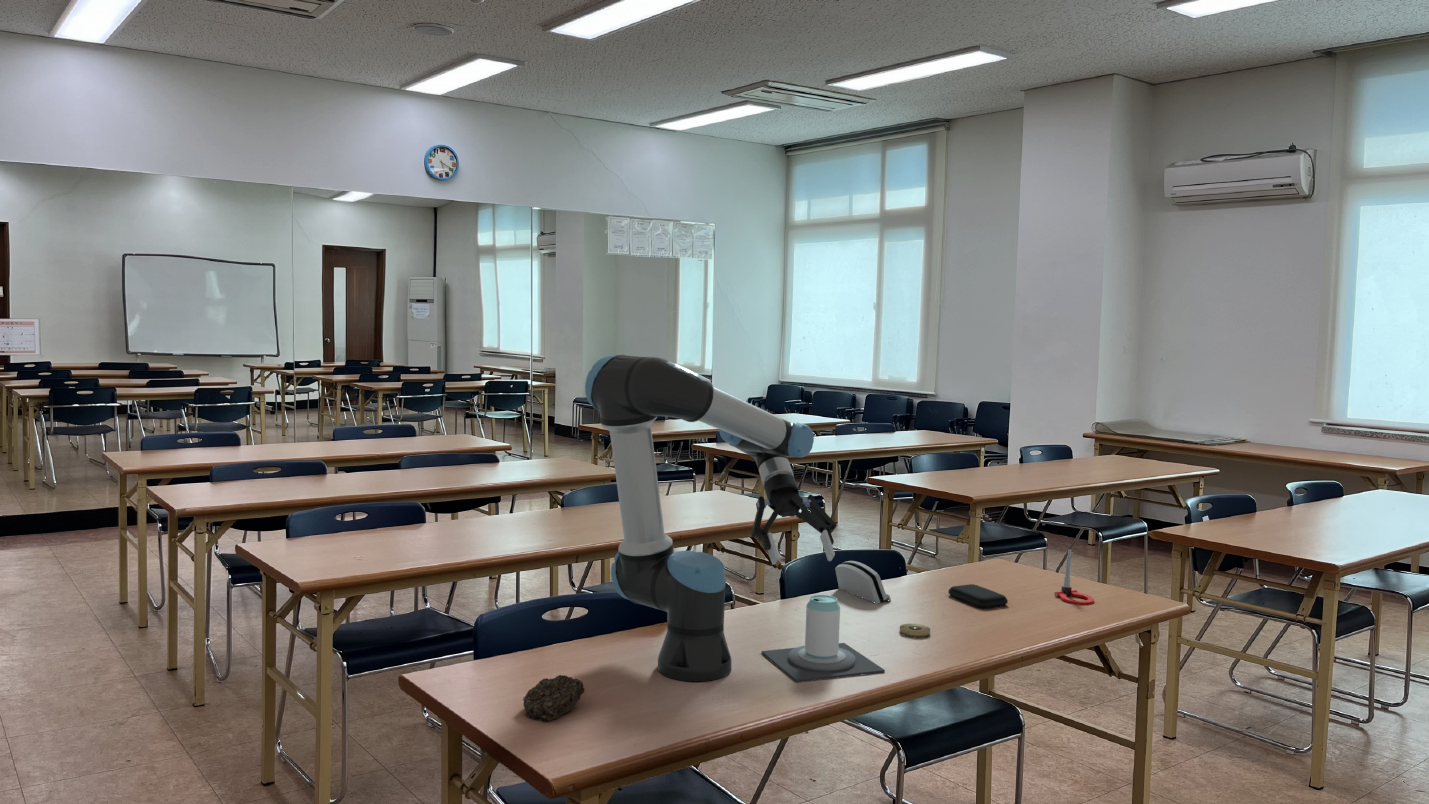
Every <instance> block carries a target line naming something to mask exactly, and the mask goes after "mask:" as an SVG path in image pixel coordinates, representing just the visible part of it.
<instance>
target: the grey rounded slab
mask: <svg viewBox="0 0 1429 804" xmlns="http://www.w3.org/2000/svg"><path fill="white" fill-rule="evenodd" d="M834 570H835V575H836V579H837V583H838V586H837V587H838V589H839V590H842V591H844V590H846V591H847V592H846V591H845V592H846V593H849V592H850V593H849V594H851V593H852V595H854V594H855V595H854V596H856V595H857V597H858V596H860V597H859V598H861V597H863V598H865V599H864V600H866V599H867V600H866V601H868V600H870V601H873V602H875V603H879V604H881V602H882V601H887V600H889V601H891V602H892V600H891V595H890V594H888V593H886V591H885V588H884V585H883V581H882V579H881V577H880V574H878V572H877V571H875V570H874V569H872V568H871V567H870V566H868V565H866V564H864V563H862V562H859V561H855V560H848V561H847V560H846V561H844V562H842V563H841V564H838V565H837V566H836V567H835V569H834ZM863 598H862V599H863ZM881 600H882V601H881ZM870 601H869V602H870ZM889 601H888V602H889ZM873 602H872V603H873ZM875 603H874V604H875Z"/></svg>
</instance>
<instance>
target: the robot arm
mask: <svg viewBox="0 0 1429 804" xmlns="http://www.w3.org/2000/svg"><path fill="white" fill-rule="evenodd" d="M584 392H585V396H586V399H587V402H588V403H589V404H590V405H591V406H592V408H594V409H595V410H597V411H599V417H600V425H601V426H602V427H603V428H605V429H606V430H607V431H608V432H609V436H610V444H611V451H612V458H613V464H614V465H613V466H614V471H615V472H614V473H615V479H616V486H617V487H616V488H617V496H618V503H619V509H620V517H621V525H622V532H623V539H622V541H621V542H620V544H619V545H618V552H617V553H616V554H615V556H614V557H613V561H614V562H613V563H612V564H611V566H610V567H611V568H610V577H611V583H612V586H613V588H614V589H615V591H616V592H617V594H618V595H619V596H621V597H622V598H624V599H625V600H629V601H630V602H632V603H634V604H636V605H643V606H646V607H649V608H653V609H655V610H659V611H663V612H665V613H667V614H666V615H667V616H666V619H667V623H666V624H667V625H666V626H667V627H666V633H665V637H664V639H663V642H662V645H661V648H660V650H659V654H658V656H657V670H658V672H659V673H660V674H662V675H663V676H665V677H668V678H671V679H674V680H679V681H684V682H685V681H686V682H709V681H713V680H717V679H722V678H724V677H726V676H728V675H729V674H731V672H732V655H731V653H730V649H729V647H728V642H727V640H726V636H725V631H724V630H725V629H724V628H725V626H724V624H725V623H724V622H725V608H726V607H725V602H726V601H725V599H726V585H727V583H726V581H727V580H726V573H725V572H726V570H725V566H724V564H723V562H722V560H720V559H719V558H718V557H716V556H714V555H712V554H710V553H706V552H703V551H695V550H678V551H674V550H675V549H674V541H673V538H672V537H670V536H669V535H668V534H666V533H665V528H664V520H663V511H662V505H661V496H660V488H659V481H658V480H659V479H658V471H657V463H656V457H655V456H656V455H655V447H654V440H653V434H652V432H653V431H652V425H653V423H654V422H655V421H656V419H657V418H658V417H665V418H666V417H667V418H675V419H679V420H682V421H685V422H686V423H687V422H688V423H696V422H700V423H703V424H706V425H708V426H711V427H713V428H716V429H718V430H719V435H720V437H721V439H722V440H723V441H724V442H726V443H727V444H728V445H730V447H734V448H735V449H737V450H739V451H741V452H742V453H745V454H746V455H748V456H749V457H751V458H753V459H754V461H755V464H756V466H757V469H758V472H759V475H760V479H761V482H762V485H763V489H764V491H765V496H766V498H765V497H764V496H759V497H758V499H757V501H756V503H755V505H756V513H755V517H754V521H753V524H752V529H751V533H750V535H751V536H752V538H756V537H758V540H759V542H760V541H761V543H762V547H763V549H764V551H767V553H768V555H769V559H770V562H771V565H772V566H773V565H777V563H778V560H779V559H780V556H779V553H778V549H777V546H776V544H775V540H774V538H773V533H772V532H769V531H770V529H771V527H772V525H773V524H774V523H775V521H776V519H777V517H778V516H780V517H781V518H786V517H789V518H794V517H796V518H798V519H800V520H803V521H804V522H806V523H807V524H808V525H809V526H811V527H812V528H814V529H815V530H816V531H817V532H819V534H820V536H819V539H820V542H821V544H822V547H823V551H824V553H825V556H826V559H827V561H828V562H831V561H832V560H833V559H834V557H835V555H836V553H835V550H834V547H833V544H835V541H834V537H833V532H834V531H835V530H836V528H837V526H838V525H837V523H836V522H835V521H834V520H833V519H832V518H831V517H830V515H829V514H828V513H827V512H826V511H825V510H824V509H823V507H821V506H820V505H819V503H817V500H816V499H815V497H814V495H813V494H808V496H807V497H802V496H801V495H800V492H799V487H798V485H797V482H796V478H795V477H794V471H793V470H792V467H791V463H790V461H789V458H788V457H790V458H804V457H806V456H809V454H810V452H811V451H812V449H813V446H814V439H815V437H814V433H813V430H812V428H811V426H809V425H807V424H803V423H800V422H791V421H788V420H787V419H784V418H781V417H779V416H776V415H775V414H773V413H770V412H769V411H766V410H764V409H762V408H760V407H757V406H755V405H754V404H751V403H749V402H747V401H744V400H742V399H740V398H738V397H736V396H734V395H731V394H729V393H727V392H725V391H723V390H721V389H719V388H716V387H715V386H714V385H713V383H712V382H711V380H710V379H708V378H707V377H705V376H703V375H701V374H699V373H697V372H695V371H693V370H691V369H688V368H687V367H685V366H682V365H680V364H678V363H676V362H673V361H671V360H668V359H665V358H661V357H655V356H638V355H637V356H635V355H625V354H616V355H615V354H614V355H607V356H604V357H601V358H599V359H598V360H597V361H596V362H595V363H594V364H593V365H592V368H591V369H590V370H589V372H588V373H587V376H586V379H585V385H584ZM767 506H768V508H770V509H771V510H772V513H771V515H770V516H769V518H768V519H767V522H766V523H765V525H764V526H763V528H761V524H762V520H763V516H764V513H765V509H766V508H767Z"/></svg>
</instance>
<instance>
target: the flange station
mask: <svg viewBox="0 0 1429 804" xmlns="http://www.w3.org/2000/svg"><path fill="white" fill-rule="evenodd" d="M760 653H761V655H763V656H764V657H765V658H766V657H767V658H766V659H768V661H770V662H771V661H772V662H773V663H772V662H771V663H772V664H774V666H776V665H777V666H778V667H779V668H778V667H777V666H776V667H777V668H778V669H780V670H781V671H782V670H783V671H782V672H783V673H784V674H785V675H787V676H788V677H789V678H790V679H792V680H793V681H794V682H795V681H796V682H795V683H802V681H804V682H811V680H813V681H820V679H822V680H827V679H826V678H830V679H835V678H836V679H837V677H839V678H848V677H855V676H856V675H857V676H862V675H861V674H866V675H873V673H874V674H881V673H882V674H883V673H885V672H886V670H885V669H884V668H882V667H881V666H880V665H878V663H877V664H876V663H875V662H874V661H872V660H871V659H870V658H867V656H864V654H862V653H860V652H859V651H858V650H856V649H854V648H853V647H851V646H850V645H849V644H847V643H845V642H839V649H838V654H836V655H835V656H834V657H832V658H825V659H823V658H815V657H812V656H810V655H809V654H808V653H807V652H806V651H805V645H800V646H797V647H790V648H789V647H788V648H779V649H777V648H776V649H770V650H761V652H760ZM847 676H848V677H847ZM857 676H856V677H857Z"/></svg>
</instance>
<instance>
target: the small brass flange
mask: <svg viewBox="0 0 1429 804" xmlns="http://www.w3.org/2000/svg"><path fill="white" fill-rule="evenodd" d="M900 633H901V634H900ZM899 634H900V635H902V634H903V635H902V636H904V635H905V637H907V636H908V637H907V638H913V637H915V639H922V638H928V637H930V636H931V628H930V627H929V626H928V625H925V624H921V623H920V624H919V623H903V624H900V625H899Z"/></svg>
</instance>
